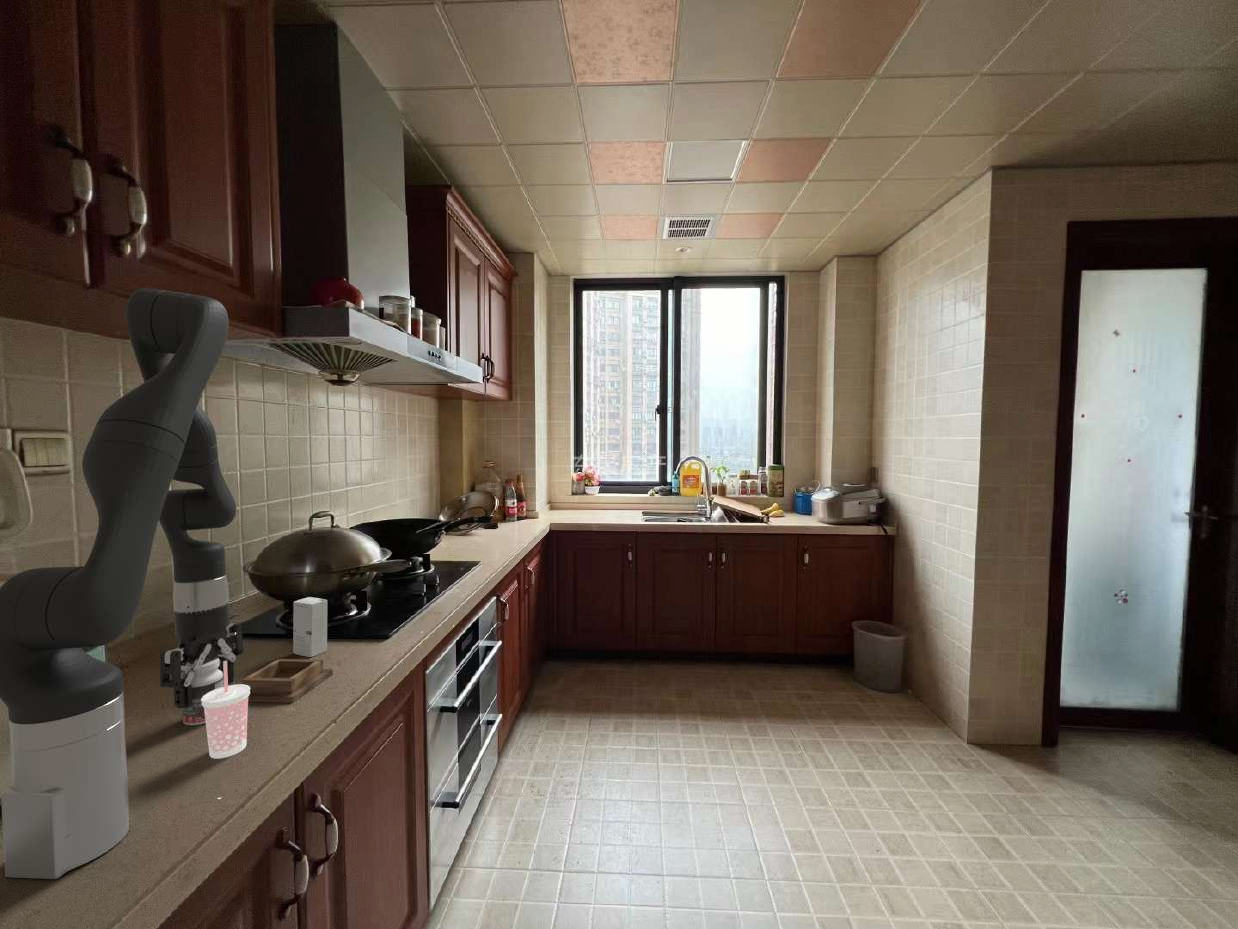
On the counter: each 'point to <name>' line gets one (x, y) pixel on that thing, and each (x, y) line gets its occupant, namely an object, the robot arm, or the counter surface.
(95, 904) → the counter surface
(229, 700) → the beverage cup
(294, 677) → the wooden tray
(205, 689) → the pill bottle
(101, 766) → the robot arm
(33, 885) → the counter surface
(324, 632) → the skincare box
